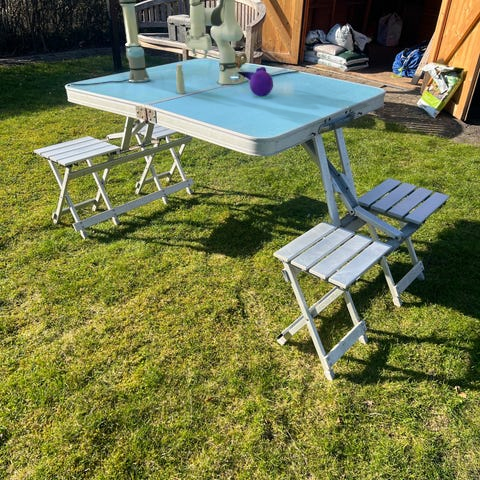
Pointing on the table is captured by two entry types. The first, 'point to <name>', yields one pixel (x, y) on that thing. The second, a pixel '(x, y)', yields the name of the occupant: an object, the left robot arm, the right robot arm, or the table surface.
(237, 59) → the teapot
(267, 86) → the toy
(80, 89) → the table surface
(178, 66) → the cap
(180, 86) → the bottle
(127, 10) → the left robot arm
